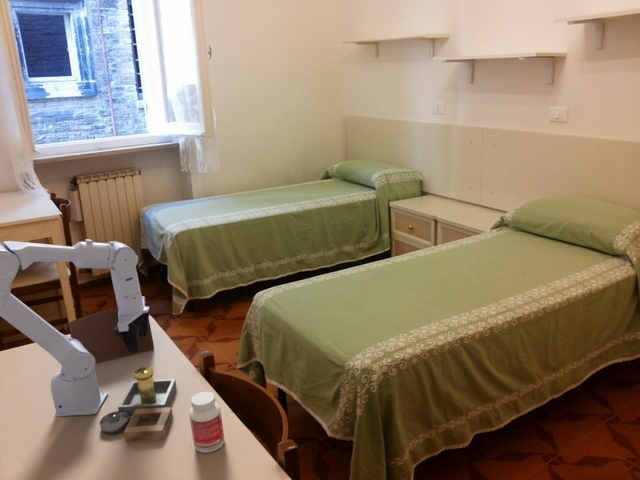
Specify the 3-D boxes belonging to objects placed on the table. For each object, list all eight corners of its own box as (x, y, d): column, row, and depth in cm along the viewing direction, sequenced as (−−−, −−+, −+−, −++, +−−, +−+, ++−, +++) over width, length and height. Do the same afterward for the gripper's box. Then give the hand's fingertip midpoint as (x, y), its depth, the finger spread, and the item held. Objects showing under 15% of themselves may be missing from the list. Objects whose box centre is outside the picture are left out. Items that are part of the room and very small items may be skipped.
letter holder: (154, 350, 156) (146, 303, 151) (77, 369, 149) (66, 320, 144) (150, 334, 165) (142, 290, 160) (76, 352, 158) (66, 305, 153)
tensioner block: (125, 441, 119) (123, 432, 118) (137, 418, 127) (135, 409, 126) (163, 439, 119) (162, 430, 118) (172, 416, 126) (171, 407, 126)
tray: (119, 417, 127) (117, 407, 126) (133, 390, 137) (132, 381, 136) (165, 414, 127) (164, 404, 126) (176, 388, 137) (175, 378, 136)
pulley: (97, 435, 121) (94, 424, 121) (106, 418, 127) (104, 407, 126) (124, 434, 121) (122, 423, 120) (133, 417, 127) (131, 406, 126)
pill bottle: (229, 445, 116) (223, 399, 112) (201, 458, 113) (194, 411, 109) (217, 430, 121) (210, 385, 117) (189, 442, 118) (182, 396, 114)
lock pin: (137, 406, 130) (131, 377, 127) (143, 396, 134) (137, 367, 131) (155, 406, 129) (149, 376, 127) (160, 395, 133) (155, 366, 131)
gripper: (135, 305, 126) (146, 358, 131) (153, 279, 140) (162, 327, 144) (104, 307, 126) (116, 360, 131) (125, 281, 140) (135, 329, 145)
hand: (138, 343), depth 138 cm, fingers open, 7 cm apart
